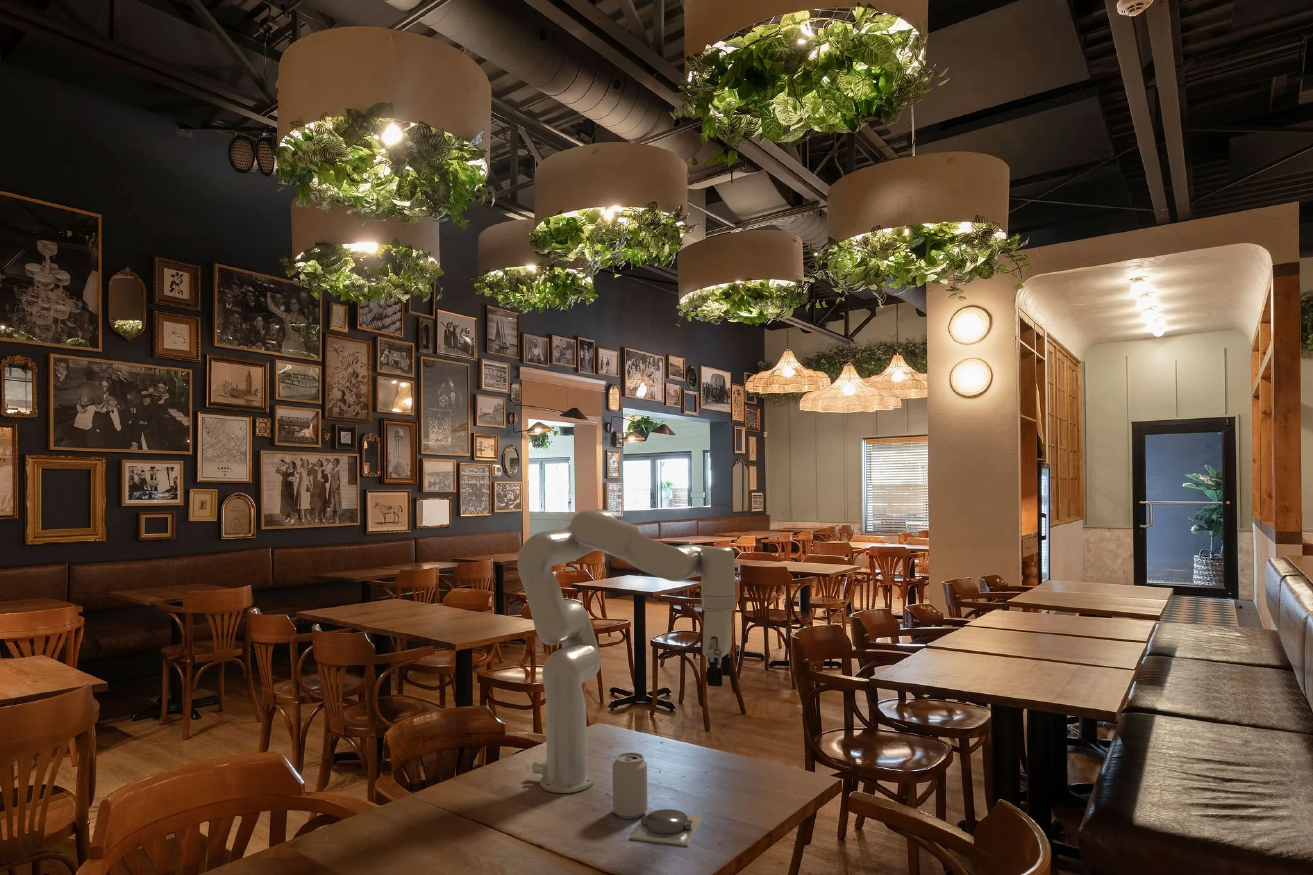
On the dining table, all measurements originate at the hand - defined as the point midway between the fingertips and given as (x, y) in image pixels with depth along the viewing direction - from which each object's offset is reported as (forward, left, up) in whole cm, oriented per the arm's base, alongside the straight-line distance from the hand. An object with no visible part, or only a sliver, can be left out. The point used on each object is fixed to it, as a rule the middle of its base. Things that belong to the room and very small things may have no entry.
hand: (719, 680), depth 175 cm
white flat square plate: (-8, -15, -27) cm, 32 cm away
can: (-18, -9, -27) cm, 34 cm away
